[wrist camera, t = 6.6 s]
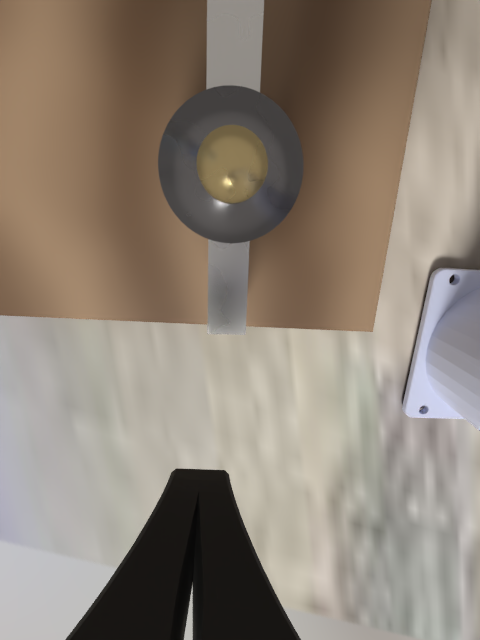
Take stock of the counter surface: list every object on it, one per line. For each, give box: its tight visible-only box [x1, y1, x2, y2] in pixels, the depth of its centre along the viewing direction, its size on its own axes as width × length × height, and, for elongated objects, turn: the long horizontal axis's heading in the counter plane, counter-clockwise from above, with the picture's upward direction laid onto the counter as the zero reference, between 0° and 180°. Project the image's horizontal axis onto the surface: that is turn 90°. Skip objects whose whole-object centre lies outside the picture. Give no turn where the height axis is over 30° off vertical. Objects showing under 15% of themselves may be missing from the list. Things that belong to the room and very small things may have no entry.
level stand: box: [0, 0, 432, 332], centre depth 13 cm, size 20×18×2 cm
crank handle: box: [158, 0, 304, 335], centre depth 11 cm, size 18×4×4 cm, turn 178°
